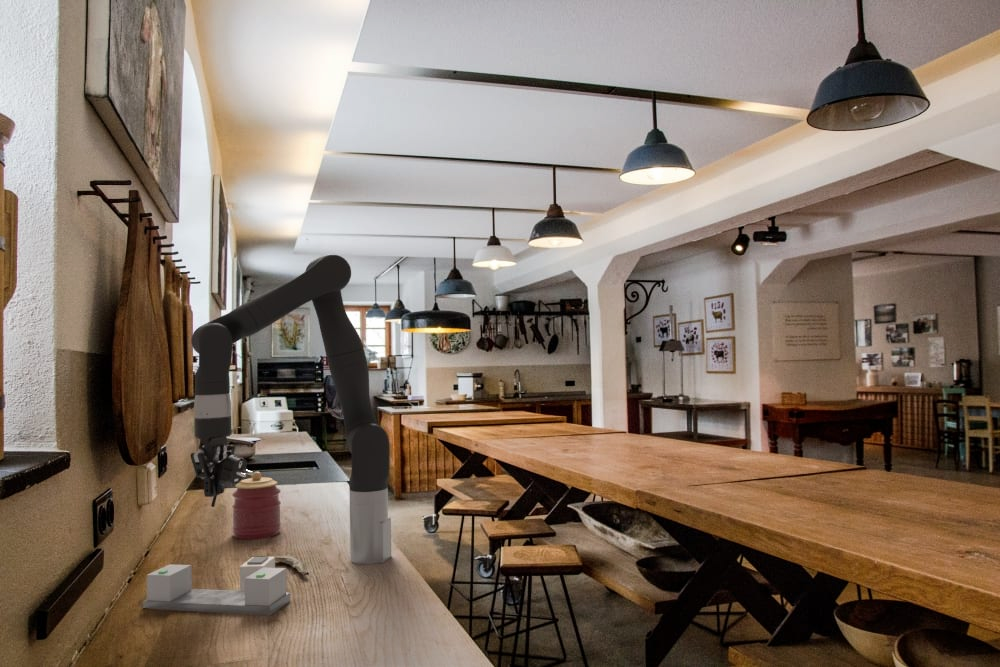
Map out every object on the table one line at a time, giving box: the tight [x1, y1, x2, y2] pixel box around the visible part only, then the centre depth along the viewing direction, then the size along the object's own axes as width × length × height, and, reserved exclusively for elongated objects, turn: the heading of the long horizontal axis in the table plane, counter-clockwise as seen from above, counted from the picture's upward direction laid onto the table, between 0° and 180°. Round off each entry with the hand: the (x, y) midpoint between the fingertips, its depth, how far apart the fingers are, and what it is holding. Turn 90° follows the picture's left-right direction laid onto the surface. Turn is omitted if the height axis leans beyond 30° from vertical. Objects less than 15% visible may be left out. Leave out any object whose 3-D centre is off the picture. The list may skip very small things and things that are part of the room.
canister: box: [232, 471, 282, 540], centre depth 197 cm, size 13×13×18 cm
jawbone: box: [250, 554, 310, 577], centre depth 163 cm, size 9×20×2 cm, turn 55°
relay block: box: [239, 556, 276, 591], centre depth 149 cm, size 5×7×6 cm
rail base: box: [142, 588, 291, 617], centre depth 138 cm, size 27×8×2 cm, turn 80°
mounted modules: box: [146, 563, 287, 606], centre depth 138 cm, size 26×7×5 cm, turn 80°
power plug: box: [210, 454, 254, 508], centre depth 150 cm, size 6×8×12 cm
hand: (214, 494), depth 151 cm, fingers closed on power plug, 2 cm apart
